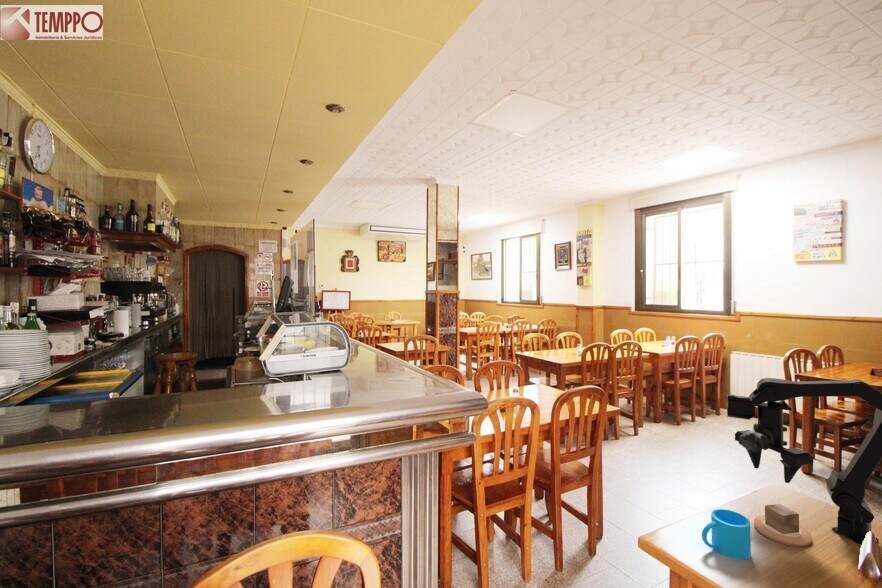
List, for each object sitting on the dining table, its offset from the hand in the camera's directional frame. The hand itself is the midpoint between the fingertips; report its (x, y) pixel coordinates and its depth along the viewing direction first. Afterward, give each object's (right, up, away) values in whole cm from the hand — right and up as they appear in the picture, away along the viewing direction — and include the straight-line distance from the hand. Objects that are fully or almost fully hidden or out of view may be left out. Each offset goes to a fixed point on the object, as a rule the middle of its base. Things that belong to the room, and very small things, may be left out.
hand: (771, 475), depth 115 cm
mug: (-24, -13, -14) cm, 30 cm away
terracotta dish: (-3, -12, -8) cm, 15 cm away
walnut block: (-3, -11, -8) cm, 14 cm away
